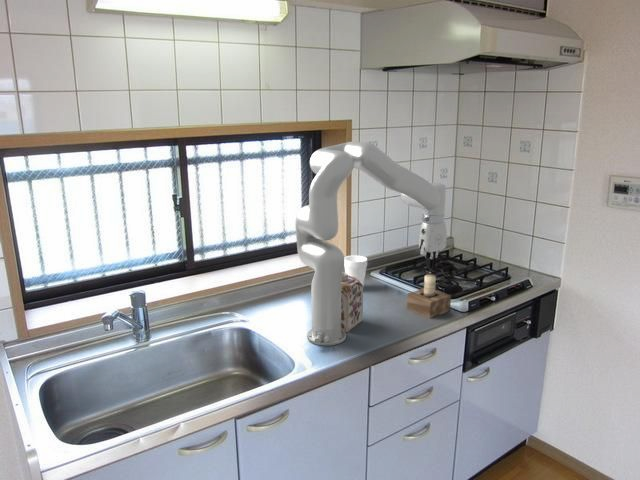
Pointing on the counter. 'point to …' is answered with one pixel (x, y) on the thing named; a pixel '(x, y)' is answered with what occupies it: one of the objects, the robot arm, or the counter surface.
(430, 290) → the beech dowel
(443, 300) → the socket block
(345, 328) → the decorative jar
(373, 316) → the counter surface
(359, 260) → the foam cup
